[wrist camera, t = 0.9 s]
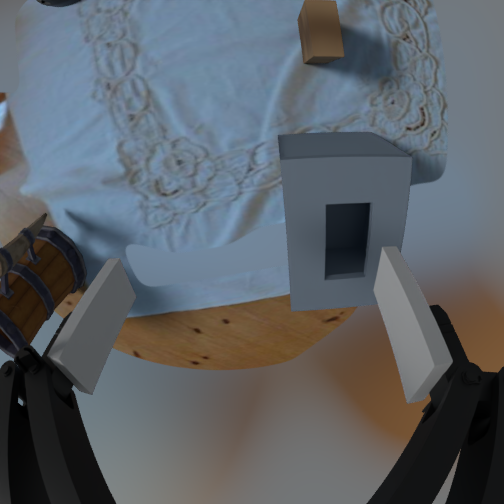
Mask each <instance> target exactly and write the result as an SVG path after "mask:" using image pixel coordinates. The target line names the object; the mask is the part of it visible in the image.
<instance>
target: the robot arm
mask: <svg viewBox="0 0 504 504" xmlns="http://www.w3.org/2000/svg"><path fill="white" fill-rule="evenodd" d="M37 1H38V2H39V3H41V4H43V5H46V6H54V7H63V6H68V5H71V4H73V3H76V2H78V1H79V0H37ZM373 291H374V294H375V297H376V300H377V302H378V305H379V308H380V311H381V314H382V317H383V320H384V323H385V326H386V329H387V332H388V336H389V339H390V342H391V345H392V348H393V352H394V355H395V359H396V362H397V366H398V370H399V373H400V377H401V381H402V385H403V388H404V392H405V397H406V401H407V404H408V403H413V402H417V401H421V400H424V398H426V396H427V395H428V394H429V393H430V397H431V401H430V402H429V403H428V405H427V406H426V407H425V408H424V409H423V411H422V412H423V413H424V412H425V413H424V415H423V417H422V419H421V421H420V423H419V424H418V426H417V428H416V430H415V432H414V434H413V436H412V437H411V439H410V441H409V443H408V444H407V446H406V448H405V449H404V451H403V453H402V454H401V456H400V457H399V459H398V461H397V462H396V464H395V465H394V467H393V468H392V470H391V471H390V473H389V474H388V476H387V477H386V479H385V480H384V482H383V483H382V484H381V486H380V487H379V488H378V490H377V491H376V492H375V494H374V495H373V496H372V498H371V499H370V500H369V501H368V503H367V504H432V503H433V501H434V499H435V498H436V496H437V494H438V493H439V491H440V489H441V487H442V485H443V484H444V482H445V480H446V478H447V476H448V474H449V472H450V470H451V468H452V466H453V464H454V462H455V460H456V458H457V456H458V454H459V451H460V449H461V451H460V455H459V459H458V463H457V468H456V471H455V475H454V478H453V482H452V485H451V489H450V492H449V495H448V498H447V501H446V503H445V504H504V367H502V368H501V370H500V371H499V372H498V373H496V372H483V371H481V369H480V368H479V366H477V365H476V364H474V363H471V362H469V360H468V359H467V356H466V354H465V352H464V349H463V347H462V345H461V343H460V340H459V338H458V336H457V334H456V332H455V330H454V328H453V325H452V324H451V321H450V319H449V317H448V315H447V313H446V312H445V311H444V310H443V309H442V308H441V307H440V306H439V305H432V306H429V305H428V303H427V302H426V300H425V297H424V296H423V293H422V292H421V290H420V288H419V286H418V284H417V282H416V280H415V278H414V276H413V274H412V273H411V271H410V269H409V267H408V265H407V264H406V262H405V260H404V259H403V257H402V255H401V253H400V251H399V250H398V248H397V246H389V247H382V251H381V256H380V261H379V266H378V271H377V276H376V281H375V285H374V290H373ZM135 299H136V295H135V292H134V290H133V288H132V286H131V284H130V281H129V279H128V277H127V274H126V272H125V270H124V267H123V265H122V262H121V260H120V258H114V259H108V260H107V262H106V263H105V264H104V266H103V267H102V269H101V270H100V271H99V273H98V274H97V276H96V277H95V279H94V280H93V282H92V283H91V284H90V286H89V287H88V289H87V290H86V292H85V293H84V295H83V296H82V298H81V300H80V301H79V303H78V304H77V306H76V307H75V309H74V310H73V312H70V313H69V314H68V315H67V316H66V317H65V318H64V319H63V321H62V323H61V324H60V326H59V328H58V329H57V331H56V333H55V335H54V336H53V338H52V339H51V341H50V343H49V345H48V346H47V348H46V350H45V352H44V354H43V355H42V357H41V356H40V355H39V354H38V353H37V351H36V350H35V349H34V348H33V347H32V346H31V345H26V346H23V347H22V348H21V349H19V351H18V352H17V353H16V355H15V358H14V362H13V361H7V362H5V363H4V364H3V365H2V367H1V368H0V504H116V502H115V500H114V498H113V497H112V494H111V492H110V490H109V489H108V486H107V484H106V482H105V479H104V477H103V475H102V473H101V470H100V468H99V465H98V463H97V461H96V458H95V456H94V453H93V450H92V448H91V445H90V442H89V439H88V436H87V433H86V430H85V427H84V424H83V421H82V418H81V415H80V411H79V408H78V404H77V400H76V396H75V394H74V391H73V390H72V387H73V385H74V386H75V387H76V388H77V389H78V390H79V391H81V392H84V393H88V394H91V395H92V394H93V391H94V389H95V386H96V384H97V381H98V379H99V377H100V374H101V372H102V370H103V367H104V365H105V363H106V360H107V358H108V356H109V354H110V351H111V349H112V347H113V345H114V343H115V340H116V338H117V336H118V334H119V332H120V330H121V328H122V325H123V323H124V321H125V319H126V317H127V315H128V313H129V311H130V309H131V307H132V305H133V303H134V301H135ZM15 363H16V364H17V365H18V366H17V365H16V364H15ZM18 397H19V398H20V399H21V400H22V401H23V406H21V405H20V404H19V403H18Z"/></svg>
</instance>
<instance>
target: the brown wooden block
mask: <svg viewBox="0 0 504 504" xmlns="http://www.w3.org/2000/svg"><path fill="white" fill-rule="evenodd" d="M298 27H299V33H300V40H301V47H302V54H303V62H304V64H305V63H329V62H332V61H334V60H337V59H340V58H342V57H344V50H343V42H342V35H341V28H340V21H339V15H338V10H337V4H336V1H331V0H305V1H304V4H303V6H302V9H301V12H300V14H299V17H298Z"/></svg>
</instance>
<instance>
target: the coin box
mask: <svg viewBox="0 0 504 504" xmlns="http://www.w3.org/2000/svg"><path fill="white" fill-rule="evenodd" d="M278 141H279V153H280V164H281V174H282V185H283V196H284V208H285V220H286V234H287V247H288V262H289V279H290V297H291V311H305V310H319V309H332V308H344V307H354V306H364V305H374V304H378V302H377V300H376V297H375V294H374V291H373V290H374V285H375V281H376V276H377V271H378V266H379V261H380V256H381V251H382V247H389V246H397V248H398V250H399V251H400V253H401V247H402V242H403V236H404V230H405V223H406V216H407V209H408V201H409V192H410V182H411V170H412V157H411V156H409V155H408V154H406V153H405V152H403V151H402V150H400V149H399V148H397V147H395V146H394V145H392V144H390V143H389V142H387V141H385V140H384V139H382V138H380V137H379V136H377V135H375V134H373V133H372V132H328V133H304V134H288V135H278Z"/></svg>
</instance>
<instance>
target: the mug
mask: <svg viewBox="0 0 504 504" xmlns="http://www.w3.org/2000/svg"><path fill="white" fill-rule="evenodd" d="M46 217H47V214H46V213H45V214H43V215H42V216H41V217H40V218H38V219H37V220H36V221H35V222H33V223H32V224H31V225H30V226H29V227H27V228H24V229H23V230H22V231H21V232H20V233H19V234H18V236H17V237H16V238H14V239H13V240H12V241H11V242H9V243H8V244H7V245H5V246H4V247H3V248H0V278H1V281H0V349H1V350H2V351H3V352H5V353H6V354H7V355H9V356H11V357H12V358H15V355H16V353H17V352H18V351H19V349H21V348H22V347H23V346H26V345H30V343H31V342H32V340H33V339H34V337H35V336H36V334H37V332H38V331H39V329H40V328H41V326H42V325H43V323H44V322H45V321H46V320H49V318H50V317H51V315H52V314H53V312H54V310H55V309H56V307H57V306H58V305H59V304H60V303H61V302H62V301H63V300H64V298H65V297H66V296H67V295H68V294H69V293H75V292H76V290H77V288H80V287H82V286H83V284H84V281H85V278H86V275H87V271H86V268H85V264H84V260H83V256H82V255H81V253H80V252H79V251H78V249H77V248H76V246H75V245H74V243H73V242H72V240H71V239H70V238H68V237H67V236H66V235H65V234H63V233H62V232H61V231H59V230H58V229H57V228H55V227H49V226H43V224H44V222H45V219H46Z"/></svg>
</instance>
